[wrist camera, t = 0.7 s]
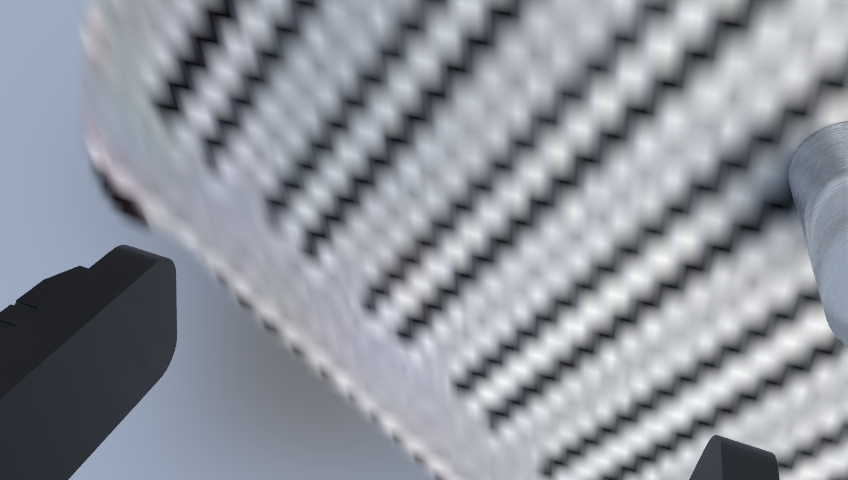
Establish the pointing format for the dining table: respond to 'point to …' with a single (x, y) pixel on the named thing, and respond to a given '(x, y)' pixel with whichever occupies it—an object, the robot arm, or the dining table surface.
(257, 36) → the dining table surface
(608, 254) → the dining table surface
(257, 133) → the dining table surface
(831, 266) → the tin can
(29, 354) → the robot arm
